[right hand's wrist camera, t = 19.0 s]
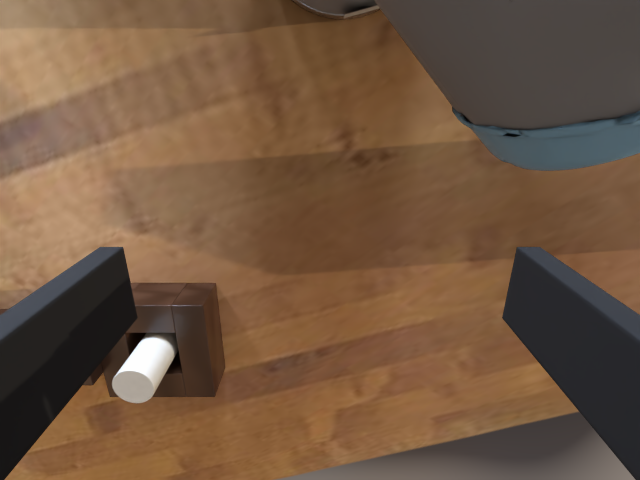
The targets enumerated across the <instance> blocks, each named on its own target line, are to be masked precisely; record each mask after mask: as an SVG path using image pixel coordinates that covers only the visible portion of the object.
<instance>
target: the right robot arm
mask: <svg viewBox="0 0 640 480" xmlns="http://www.w3.org/2000/svg"><path fill="white" fill-rule="evenodd" d="M292 1H293V2H295V3H296V4H298V5H299V6H300V7H302V8H304V9H306V10H307V11H309V12H312V13H314V14H316V15H319V16H323V17H327V18H333V19H352V18H358V17H362V16H366V15H369V14H371V13H374V12H376V11H378V10H380V9H381V10H382V12H383V13H384V15H385V16H386V17H387V19H388V20H389V21H390V23H391V24H392V25H393V27H394V28H395V29H396V31H397V32H398V33H399V35H400V36H401V37H402V39H403V40H404V42H405V43H406V44H407V46H408V47H409V48H410V50H411V51H412V52H413V54H414V55H415V56H416V58H417V59H418V60H419V62H420V63H421V64H422V66H423V67H424V69H425V70H426V71H427V73H428V74H429V75H430V77H431V78H432V79H433V81H434V82H435V83H436V85H437V86H438V87H439V89H440V90H441V92H442V93H443V94H444V96H445V97H446V98H447V100H448V101H449V102H450V104H451V105H452V111H453V113H454V114H455V116H456V117H457V119H458V120H459V121H460V122H462V123H463V124H464V125H466V126H468V127H469V128H471V129H472V130H473V132H474V133H475V134H476V135H477V136H478V138H479V139H480V140H481V141H482V143H483V144H484V145H485V146H486V147H487V149H488V150H489V151H490V152H491V153H492V154H493V155H494V156H496V157H497V158H499V159H500V160H501V161H504V162H508V163H511V164H513V165H515V166H518V167H521V168H524V169H530V170H541V171H554V170H568V169H577V168H583V167H589V166H594V165H599V164H603V163H607V162H611V161H615V160H619V159H622V158H625V157H629V156H632V155H635V154H638V153H640V0H292ZM137 318H138V317H137V312H136V307H135V302H134V298H133V293H132V288H131V283H130V278H129V273H128V269H127V264H126V259H125V254H124V249H123V247H100V248H98V249H97V250H95V251H94V252H92V253H91V254H89V255H88V256H86V257H85V258H83V259H82V260H80V261H79V262H77V263H76V264H75V265H73V266H72V267H70V268H69V269H67V270H66V271H64V272H63V273H61V274H60V275H58V276H57V277H55V278H54V279H53V280H51V281H50V282H48V283H47V284H45V285H44V286H42V287H41V288H39V289H38V290H36V291H35V292H33V293H32V294H30V295H29V296H28V297H26V298H25V299H23V300H22V301H20V302H19V303H17V304H16V305H14V306H13V307H11V308H10V309H8V310H7V311H6V312H4V313H3V314H1V315H0V480H4V479H5V478H6V477H7V476H8V475H9V473H10V472H11V471H12V470H13V468H14V467H15V466H16V465H17V464H18V462H19V461H20V460H21V459H22V458H23V456H24V455H25V454H26V453H27V451H28V450H29V449H30V448H31V447H32V445H33V444H34V443H35V442H36V441H37V439H38V438H39V437H40V436H41V435H42V433H43V432H44V431H45V430H46V428H47V427H48V426H49V425H50V424H51V422H52V421H53V420H54V419H55V418H56V416H57V415H58V414H59V413H60V412H61V410H62V409H63V408H64V407H65V405H66V404H67V403H68V402H69V401H70V399H71V398H72V397H73V396H74V395H75V393H76V392H77V391H78V390H79V389H80V387H81V386H82V385H83V384H84V382H85V381H86V380H87V379H88V378H89V376H90V375H91V374H92V373H93V372H94V370H95V369H96V368H97V367H98V366H99V364H100V363H101V362H102V361H103V359H104V358H105V357H106V356H107V355H108V353H109V352H110V351H111V350H112V349H113V347H114V346H115V345H116V344H117V343H118V341H119V340H120V339H121V338H122V336H123V335H124V334H125V333H126V332H127V330H128V329H129V328H130V327H131V326H132V324H133V323H134V322H135V321H136V320H137ZM502 318H503V320H504V321H505V322H506V323H507V324H508V326H509V327H510V328H511V329H512V330H513V332H514V333H515V334H516V335H517V336H518V338H519V339H520V340H521V341H522V343H523V344H524V345H525V346H526V347H527V349H528V350H529V351H530V352H531V353H532V355H533V356H534V357H535V358H536V359H537V361H538V362H539V363H540V364H541V366H542V367H543V368H544V369H545V370H546V372H547V373H548V374H549V375H550V376H551V378H552V379H553V380H554V381H555V382H556V384H557V385H558V386H559V387H560V389H561V390H562V391H563V392H564V393H565V395H566V396H567V397H568V398H569V399H570V401H571V402H572V403H573V404H574V405H575V407H576V408H577V409H578V410H579V412H580V413H581V414H582V415H583V416H584V418H585V419H586V420H587V421H588V422H589V424H590V425H591V426H592V427H593V428H594V430H595V431H596V432H597V433H598V434H599V436H600V437H601V438H602V439H603V441H604V442H605V443H606V444H607V445H608V447H609V448H610V449H611V450H612V451H613V453H614V454H615V455H616V456H617V458H618V459H619V460H620V461H621V462H622V464H623V465H624V466H625V467H626V468H627V470H628V471H629V472H630V473H631V474H632V476H633V477H634V478H635V479H636V480H640V315H639V314H637V313H636V312H634V311H633V310H632V309H630V308H629V307H627V306H626V305H624V304H623V303H621V302H620V301H618V300H617V299H615V298H614V297H612V296H611V295H610V294H608V293H607V292H605V291H604V290H602V289H601V288H599V287H598V286H596V285H595V284H593V283H592V282H590V281H589V280H587V279H586V278H585V277H583V276H582V275H580V274H579V273H577V272H576V271H574V270H573V269H571V268H570V267H568V266H567V265H565V264H564V263H563V262H561V261H560V260H558V259H557V258H555V257H554V256H552V255H551V254H549V253H548V252H546V251H545V250H543V249H542V248H540V247H517V249H516V254H515V259H514V264H513V269H512V273H511V278H510V283H509V288H508V293H507V297H506V302H505V307H504V312H503V317H502Z"/></svg>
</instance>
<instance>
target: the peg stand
mask: <svg viewBox="0 0 640 480" xmlns="http://www.w3.org/2000/svg"><path fill="white" fill-rule="evenodd" d="M131 288H132V293H133V298H134V302H135V307H136V312H137V317H138V318H137V320H136V321H135V322H134V323H133V324H132V326H131V327H130V328H129V329H128V330H127V332H126V333H125V334H124V335H123V336H122V338H121V339H120V340H119V341H118V343H117V344H116V345H115V346H114V347H113V349H112V350H111V351H110V352H109V353H108V355H107V356H106V357H105V358H104V359H103V361H102V362H101V363H100V364H99V366H98V367H97V368H96V369H95V370H94V372H93V373H92V374H91V375H90V376H89V378H88V379H87V380H86V381H85V382H84V384H83V385H93V384H94V383H95V382H96V381H97V379H98V378H99V377H100V376H101V374H102V373H103V372H104V375H105V379H106V383H107V387H108V391H109V395H110V397H119V396H118V395H117V394H116V393H115V392H114V390H113V387H112V381H113V378H114V377H115V375H116V374H117V372H118V371H119V370H120V368H121V367H122V366H123V364H124V363H125V362H126V360H127V359H128V357H129V356H130V355H131V353H132V352H133V351H134V349H135V348H136V347H137V345H138V344H139V343H140V341H141V340H142V338H143V337H144V336H145V334H146V333H175V332H176V337H177V343H178V349H179V350H178V352H177V353H176V355H175V357H174V359H173V361H172V362H171V364H170V366H169V368H168V370H167V371H166V373H165V375H164V377H163V378H162V380H161V382H160V384H159V386H158V387H157V389H156V391H155V393H154V395H153V396H152V397H215V395H216V392H217V389H218V386H219V383H220V381H221V378H222V375H223V372H224V369H225V361H224V352H223V343H222V334H221V325H220V317H219V308H218V299H217V290H216V283H131ZM7 310H8V309H0V315H1V314H3V313H4V312H6V311H7Z"/></svg>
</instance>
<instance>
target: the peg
mask: <svg viewBox="0 0 640 480" xmlns="http://www.w3.org/2000/svg"><path fill="white" fill-rule="evenodd" d="M178 350H179V349H178V343H177V337H176V332H175V333H146V334H145V336H144V337H143V338H142V340H141V341H140V343H139V344H138V345H137V347H136V348H135V349H134V351H133V352H132V353H131V355H130V356H129V357H128V359H127V360H126V362H125V363H124V364H123V366H122V367H121V368H120V370H119V371H118V372H117V374H116V375H115V377H114V378H113V381H112V387H113V390H114V392H115V393H116V394H117V395H118V396H119V397H120V398H121V399H123V400H125V401H127V402H131V403H143V402H146V401H148V400H149V399H150V398H151V397H152V396H153V395H154V393H155V391H156V389H157V387H158V386H159V384H160V382H161V380H162V378H163V377H164V375H165V373H166V371H167V370H168V368H169V366H170V364H171V362H172V361H173V359H174V357H175V355H176V353H177V352H178Z"/></svg>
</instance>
